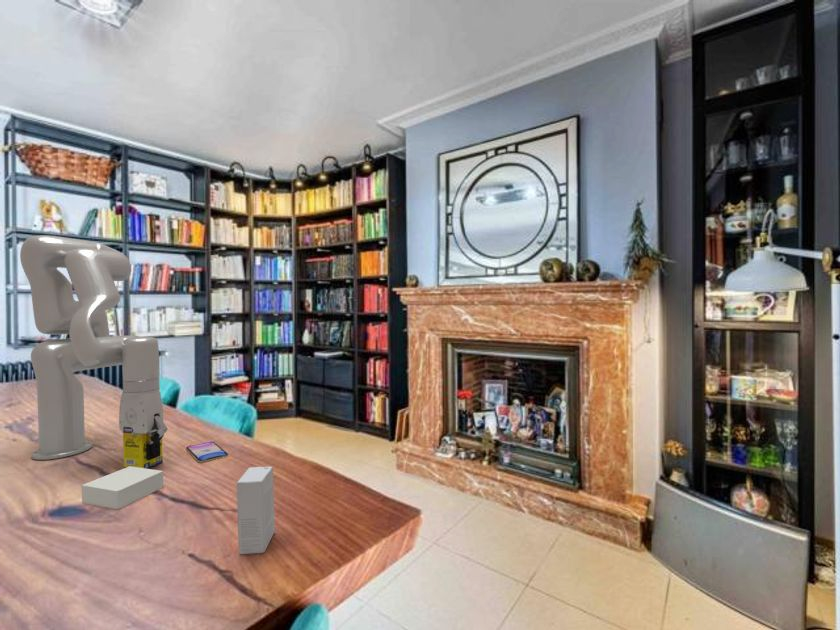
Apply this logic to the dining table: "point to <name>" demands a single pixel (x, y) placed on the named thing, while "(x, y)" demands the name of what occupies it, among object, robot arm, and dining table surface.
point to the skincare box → (255, 510)
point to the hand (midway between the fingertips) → (143, 455)
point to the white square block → (122, 487)
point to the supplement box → (138, 449)
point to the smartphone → (206, 452)
